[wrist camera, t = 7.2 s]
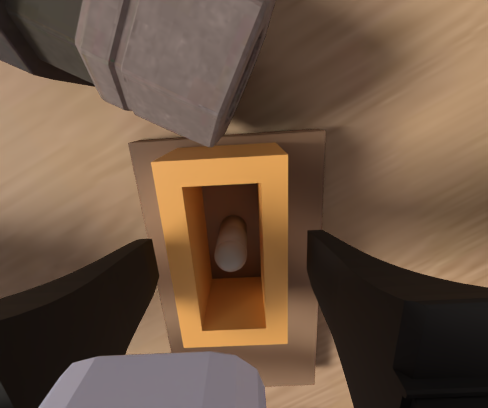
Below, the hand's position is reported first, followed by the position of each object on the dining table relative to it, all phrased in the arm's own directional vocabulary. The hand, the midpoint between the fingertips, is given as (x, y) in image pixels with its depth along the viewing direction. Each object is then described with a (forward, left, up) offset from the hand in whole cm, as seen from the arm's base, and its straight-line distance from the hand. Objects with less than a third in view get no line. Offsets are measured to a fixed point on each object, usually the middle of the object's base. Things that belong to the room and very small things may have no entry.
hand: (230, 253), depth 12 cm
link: (0, 0, -3) cm, 3 cm away
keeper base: (-4, 0, -4) cm, 6 cm away
